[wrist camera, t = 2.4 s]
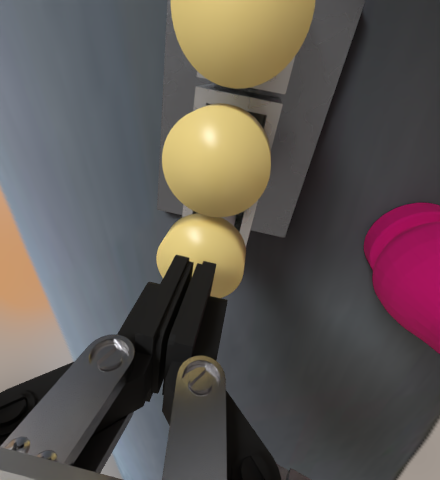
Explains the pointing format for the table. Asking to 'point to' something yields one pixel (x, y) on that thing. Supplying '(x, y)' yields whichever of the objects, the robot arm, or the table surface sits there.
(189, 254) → the knob
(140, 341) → the robot arm
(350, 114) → the table surface
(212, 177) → the knob
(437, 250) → the pepper mill
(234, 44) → the knob
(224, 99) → the mount plate
